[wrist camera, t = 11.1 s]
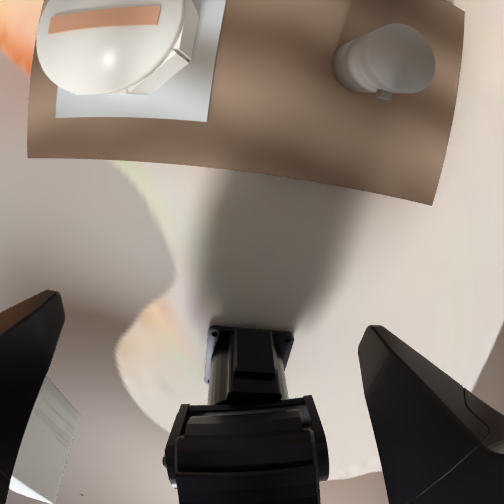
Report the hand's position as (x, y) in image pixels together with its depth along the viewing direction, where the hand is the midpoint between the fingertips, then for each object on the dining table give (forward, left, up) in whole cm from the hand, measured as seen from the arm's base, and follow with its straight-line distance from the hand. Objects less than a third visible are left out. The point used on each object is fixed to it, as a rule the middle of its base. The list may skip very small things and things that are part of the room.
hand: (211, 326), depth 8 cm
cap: (+9, +6, -10) cm, 15 cm away
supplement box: (-25, +19, -12) cm, 34 cm away
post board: (+9, 0, -12) cm, 15 cm away
